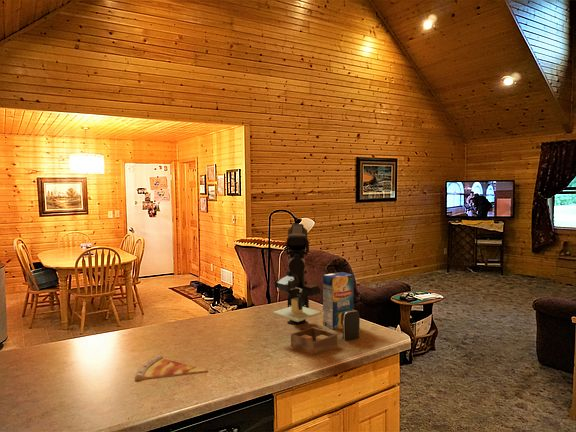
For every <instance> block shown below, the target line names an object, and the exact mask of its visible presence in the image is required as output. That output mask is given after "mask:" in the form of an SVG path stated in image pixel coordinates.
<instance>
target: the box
mask: <svg viewBox="0 0 576 432" xmlns="http://www.w3.org/2000/svg"><path fill="white" fill-rule="evenodd" d="M303 335H308V336H311V337H312V340H309V339H306V338H303V337H300V336H303ZM320 335H325V336H328V337H326V338H324V339H321V340H319V341H316V337H317V336H320ZM290 347H292V348H295V349H297V350H300V351H302V352H305V353H308V354H311V355H313V356H317V355H320V354H322V353H325V352H327V351H330V350H332V349H334V348H337V347H338V334H336V333H334V332H330V331H327V330H323V329H321V328H318V327H316V326H311V327H308V328H306V329H303V330H300V331H297V332H294V333H290Z"/></svg>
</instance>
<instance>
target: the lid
mask: <svg viewBox="0 0 576 432" xmlns="http://www.w3.org/2000/svg"><path fill="white" fill-rule="evenodd" d="M272 315H275V316H278V317H281V318H285V319H287V320H289V321H290V320H293V321H296V322H299V321H302V320H305V319H306V320H308V319H310V318H311V319H312V318H313V317H317V316H319V315H322V311H320V310H316V309H314V308H310V307H309V308H306V307H302V309H301V310H299V306H298V298H293V299H291V307H288V306H287V307H285V308H281V309H279V310H274V311H272Z"/></svg>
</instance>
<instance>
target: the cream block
mask: <svg viewBox="0 0 576 432" xmlns="http://www.w3.org/2000/svg"><path fill="white" fill-rule="evenodd" d="M326 337H328V336H325V335H320V336H317V337H316V341H319V340H321V339H324V338H326Z"/></svg>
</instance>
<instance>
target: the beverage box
mask: <svg viewBox="0 0 576 432" xmlns="http://www.w3.org/2000/svg"><path fill="white" fill-rule="evenodd" d="M354 276H355V275H354V274H352V273H348V272H344V271H339V272H334V273H328V274H322V325H323V326H324V327H326V328H329V329H330V330H337V329H341V330H343V325H342V324H341V314H342V312H343V311H347V310H354V288H355V287H354V284H355V283H354V282H355V281H354V279H355V277H354Z"/></svg>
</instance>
